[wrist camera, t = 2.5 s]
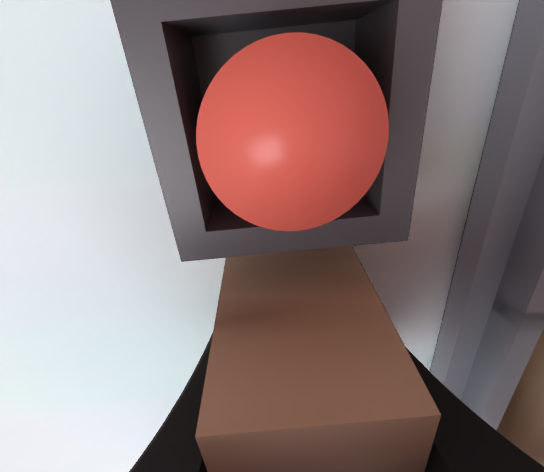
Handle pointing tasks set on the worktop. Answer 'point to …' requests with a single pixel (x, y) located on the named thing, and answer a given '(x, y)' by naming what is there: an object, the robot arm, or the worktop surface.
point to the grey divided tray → (501, 240)
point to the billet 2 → (528, 408)
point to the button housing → (230, 40)
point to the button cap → (292, 131)
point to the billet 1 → (310, 372)
